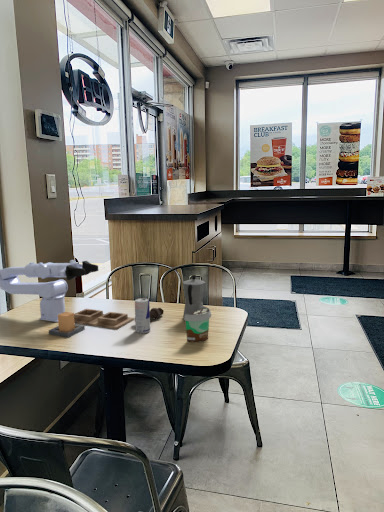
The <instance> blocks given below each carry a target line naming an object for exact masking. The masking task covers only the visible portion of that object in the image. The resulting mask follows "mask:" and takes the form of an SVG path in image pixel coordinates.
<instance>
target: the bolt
mask: <svg viewBox="0 0 384 512" xmlns="http://www.w3.org/2000/svg"><path fill="white" fill-rule="evenodd" d="M164 311H165V310H164V309H162V308H161V307H158V308H157V307H152V308H150V321H152V320H159V319H160V318H161V316H163V315H164Z"/></svg>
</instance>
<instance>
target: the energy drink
mask: <svg viewBox="0 0 384 512" xmlns="http://www.w3.org/2000/svg"><path fill="white" fill-rule="evenodd" d="M150 310H151V307H150V300H149V298H146V297H139V298H136V299H135V300H134V324H135V332H136V333H137V334H148V333H149V332H151V320H150Z"/></svg>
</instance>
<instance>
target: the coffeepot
mask: <svg viewBox="0 0 384 512" xmlns="http://www.w3.org/2000/svg"><path fill="white" fill-rule="evenodd" d="M196 277H197V275H195V274H192V275H191V279H188V280H185V281H182V286H183V287H182V289H183V294H184V298H185V303H184V309H183V315H182V316H183V320H184V319H185V314H188V315H190V314H191V313H193V312H194V311H198V310H200V309H202V306H204V304H203V298H204V295H205V287H206V281H204V280H202V279H196Z"/></svg>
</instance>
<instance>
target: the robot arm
mask: <svg viewBox="0 0 384 512" xmlns="http://www.w3.org/2000/svg"><path fill="white" fill-rule="evenodd" d="M98 271H99V266H98V265H97V264H93V263H91V262H89V261H88V260H83V261H82V263H78V262H76V261H75V260H74V259H71V260H69V262H55V263H54V262H51V261H49V262H46V263H43V262H38V263H35V262H34V261H33V262H32V261H31V262H29V263H28V264H25V266H10V267H5V268H1V269H0V289H1V290H2V291H5V292H6V293H8V294H9V295H38V296H39V297H42V298H41V300H40V301H39V308H40V309H39V311H40V317H39V320H42V321H49V322H55V323H58V315H59V314H61V313H64V312H66V304H65V302H66V301H65V296H66V294H67V291H68V289H69V286H68V283H67V281H66V280H68V281H70V280H73V279H76V278H79V277H82V276H87V275H89V274H90V273H96V272H98ZM23 275H24V276H26V277H27V278H41V280H44V279H47V278H59V279H58V280H54V281H53V280H52V281H48V282H27V281H26V282H21V281H20V280H21V279H20V278H19V276H23ZM63 278H66V280H64V279H63Z"/></svg>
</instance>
